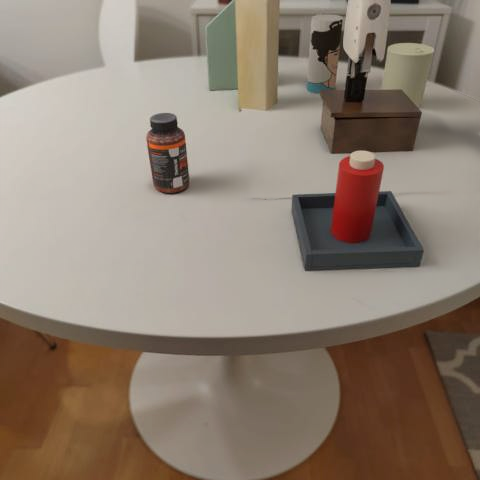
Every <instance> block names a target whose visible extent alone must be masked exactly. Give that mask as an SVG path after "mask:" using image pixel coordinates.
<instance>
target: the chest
mask: <svg viewBox="0 0 480 480" xmlns="http://www.w3.org/2000/svg"><path fill="white" fill-rule="evenodd" d="M421 117H422V116H421ZM421 117H330V115H329V113H328V111H327V109H326V107H325V105H324V102H323V101H322V110H321V118H320V119H321V120H320V130H321V133H322V135H323V138H324V140H325V143H326V146H327V148H328V150H329V153H330V154H331V155H335V154H336V155H340V154H341V155H342V154H351V153H352V152H355V151H368V152H371V153H395V152H397V153H398V152H399V153H400V152H413V150H414V147H415V143H416V139H417V136H418V131H419V127H420V122H421V119H422V118H421Z"/></svg>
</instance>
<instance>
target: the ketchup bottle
mask: <svg viewBox="0 0 480 480" xmlns="http://www.w3.org/2000/svg"><path fill="white" fill-rule="evenodd" d="M376 157H377V156H376V154H374V152H368V151H355V152H352V153H350V155H348V156H346V157H343V158H341V160H340V161H339V162H338V163H339V164H338V171H337V179H336V185H335V192H334V193H335V201H334V208H333V216H332V224H331V233H332V235H333V236H334V237H335V238H336V239H338V240H340V241H343V242H347V243H360V242H363V241H365V240H367V239H368V238H369V237H370V235H371V230H372V225H373V220H374V215H375V210H376V205H377V200H378V195H379V192H380V189H381V184H382V179H383V174H384V171H385V170H384V169H385V166H384V164H383V162H382V161H381V160H380V159H378V158H376Z"/></svg>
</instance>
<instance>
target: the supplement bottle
mask: <svg viewBox="0 0 480 480" xmlns="http://www.w3.org/2000/svg"><path fill="white" fill-rule="evenodd" d="M149 123H150V124H149V126H150V128H151V129H149V130H148V131H147V133H146V135H145V136H146V137H145V140H146V147H147V153H148V159H149V165H150V172H151V178H152V183H153V188H154V189H155V190H156V191H158V192H161V193H165V194H174V193H179V192H181V191H182V192H183V190H185V189H186V188H188V187H189V185H190V172H189V162H188V152H187V151H188V150H187V143H186V134H185V132H184V130H183V129H182V128H180V127H179V126H178V125H179V124H178V123H179V122H178V118H177V115H176V114H174V113H171V112H161V113H155V114H153V115H151V116H150V117H149Z"/></svg>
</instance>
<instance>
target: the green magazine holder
mask: <svg viewBox="0 0 480 480" xmlns="http://www.w3.org/2000/svg"><path fill="white" fill-rule="evenodd" d="M235 12H236V9H235V0H231V1H230V2H229V3H228V4H227V5H226V6H225V7H224V8H222V10H221V11H220V12H219V13H218V14H217V15H215V17H214V18H213V19H212V20H210V21H209V22H207V24H206V25H205V27H204V30H205V31H204V32H205V35H204V36H205V37H204V38H205V49H206V50H205V51H206V65H207V80H208V81H207V82H208V91H210V90H213V91H227V90H228V89H229V90H238V70H237V42H236V16H235Z"/></svg>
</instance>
